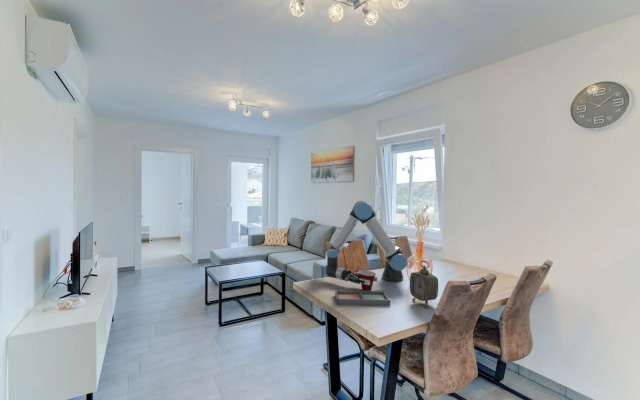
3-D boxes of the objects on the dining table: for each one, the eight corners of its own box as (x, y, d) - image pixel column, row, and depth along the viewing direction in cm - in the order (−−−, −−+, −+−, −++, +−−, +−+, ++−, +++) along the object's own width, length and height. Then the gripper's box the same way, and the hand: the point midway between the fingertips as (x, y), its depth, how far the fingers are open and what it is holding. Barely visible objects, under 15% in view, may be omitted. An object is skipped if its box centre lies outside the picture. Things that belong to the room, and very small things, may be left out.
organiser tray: (383, 295, 187) (384, 291, 187) (390, 305, 172) (390, 300, 171) (335, 295, 186) (335, 290, 186) (337, 304, 171) (337, 299, 171)
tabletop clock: (409, 300, 180) (410, 258, 179) (421, 298, 183) (423, 257, 182) (425, 309, 166) (427, 264, 166) (439, 307, 170) (440, 263, 169)
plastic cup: (375, 294, 189) (375, 275, 188) (357, 292, 191) (358, 273, 190) (375, 288, 199) (376, 270, 199) (359, 287, 201) (359, 269, 201)
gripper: (352, 276, 215) (381, 283, 200) (334, 283, 198) (364, 291, 184) (352, 266, 214) (381, 271, 200) (334, 272, 198) (364, 279, 183)
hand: (373, 281), depth 192 cm, fingers closed on plastic cup, 9 cm apart
